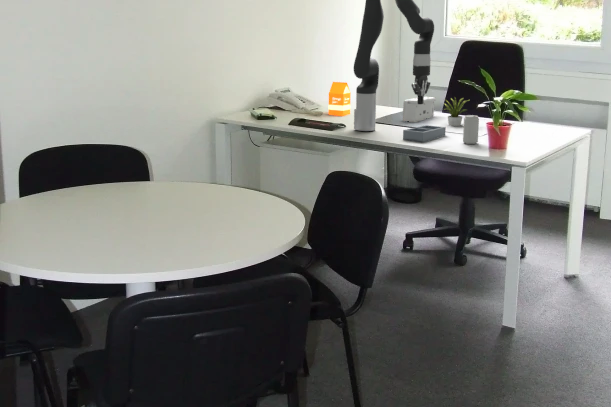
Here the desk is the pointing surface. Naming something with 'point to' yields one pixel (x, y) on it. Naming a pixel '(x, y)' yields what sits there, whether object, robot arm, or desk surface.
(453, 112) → the house plant
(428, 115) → the stereo radio cassette player
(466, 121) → the beverage can
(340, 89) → the orange juice
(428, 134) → the grey compartment tray
